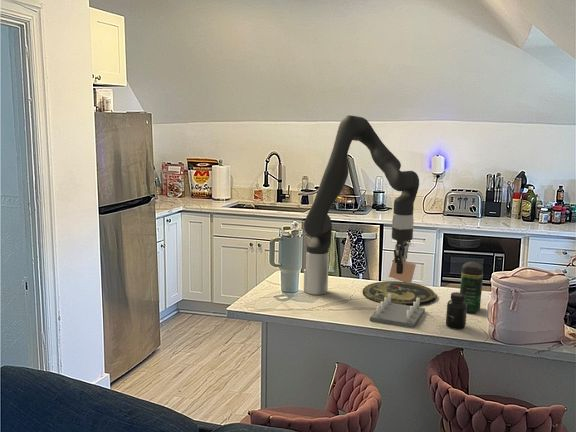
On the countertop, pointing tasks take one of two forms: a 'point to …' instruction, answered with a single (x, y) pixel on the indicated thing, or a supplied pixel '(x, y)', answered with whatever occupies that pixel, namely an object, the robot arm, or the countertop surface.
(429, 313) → the countertop surface
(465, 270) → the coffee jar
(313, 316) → the countertop surface
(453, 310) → the supplement bottle
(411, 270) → the tile
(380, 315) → the dish rack
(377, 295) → the decorative plate
